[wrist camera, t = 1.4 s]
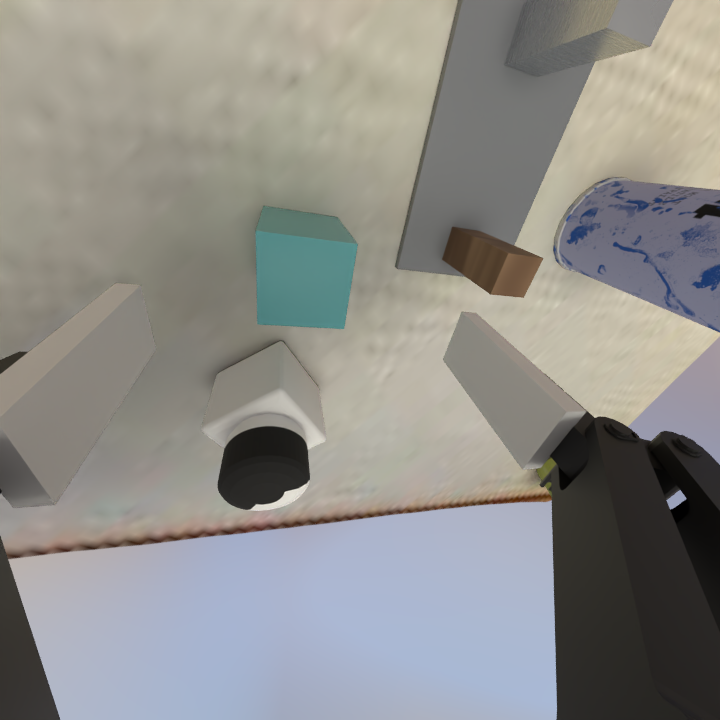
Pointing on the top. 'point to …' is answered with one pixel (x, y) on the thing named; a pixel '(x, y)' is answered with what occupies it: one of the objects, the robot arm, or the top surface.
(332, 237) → the teal rectangular block
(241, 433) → the medicine bottle
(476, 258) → the walnut post
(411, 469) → the top surface
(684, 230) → the aerosol can
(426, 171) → the board
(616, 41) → the grey post
